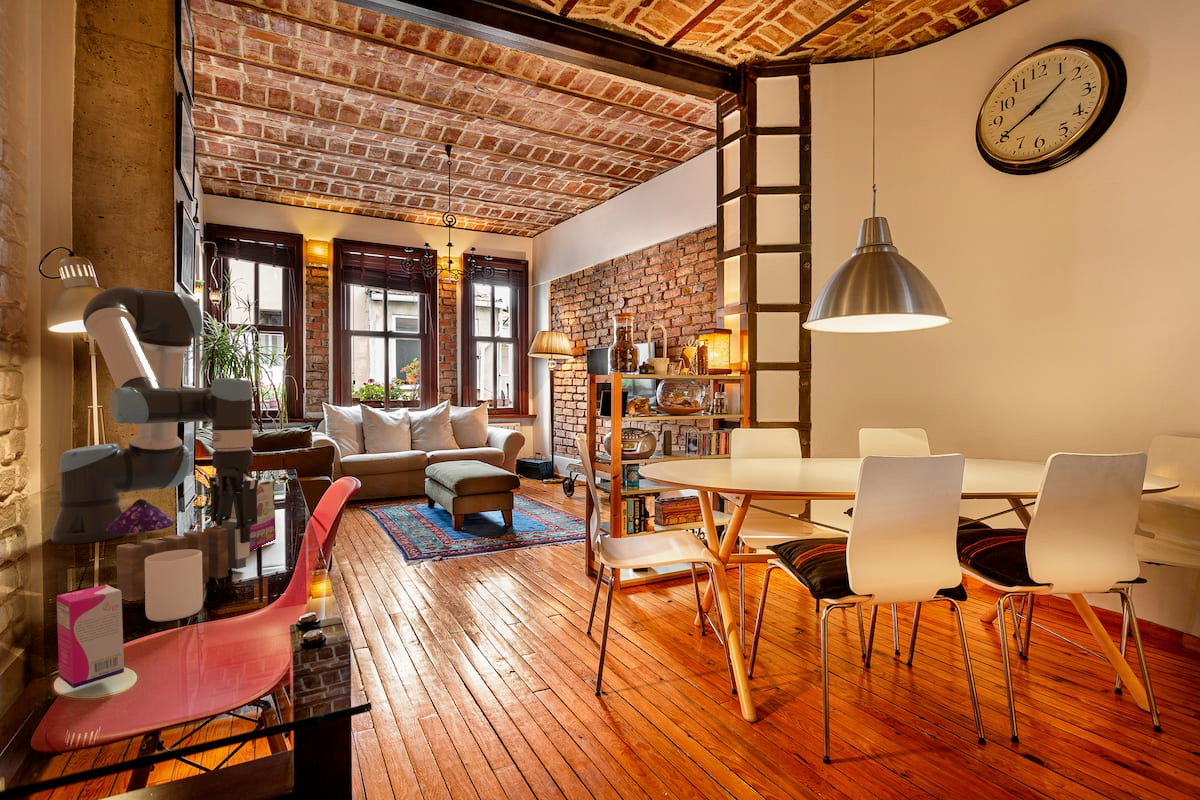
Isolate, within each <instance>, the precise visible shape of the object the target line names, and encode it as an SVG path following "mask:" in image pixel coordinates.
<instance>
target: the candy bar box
mask: <svg viewBox="0 0 1200 800" xmlns="http://www.w3.org/2000/svg"><path fill="white" fill-rule="evenodd" d="M237 493H239V492H237ZM275 502H276V501H275V480H269V479H268V480H267V479H263V480H262V479H260V480H259V479H258V486H257V524H254V525H252V526H251V527H250V542H249V544H250V551H251V552H253V551H252V550H254V549H256V548H258V547H260V546H262V545H264V544H266V543H268V542H271V541H273V540H275V539H276V538H277V537H276V511H275V510H276V509H275V508H276V507H275V504H276V503H275ZM231 519H236V514H235V508H234V502H233V506H232V513H231ZM236 520H237V519H236ZM254 551H255V550H254Z"/></svg>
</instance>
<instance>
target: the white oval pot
mask: <svg viewBox="0 0 1200 800" xmlns="http://www.w3.org/2000/svg"><path fill="white" fill-rule="evenodd" d="M203 595H204V594H203V583H202V551H200V550H194V549H185V550H174V551H167V552H162V553H157V554H154V555H151V556H148V557H146V558H145V593H144V600H145V601H144V602H145V603H144V605H145V607H144V608H145V609H144V610H145V611H144V612H145V616H146V618H147V619H148V620H149V621H150V622H151V621H152V622H169V621H175V620H180V619H184V618H189V617H191V616H194V615H195V614H198V613H199V612H200V611H201V610H202V608H203V604H204V603H203V600H204V599H203Z"/></svg>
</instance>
